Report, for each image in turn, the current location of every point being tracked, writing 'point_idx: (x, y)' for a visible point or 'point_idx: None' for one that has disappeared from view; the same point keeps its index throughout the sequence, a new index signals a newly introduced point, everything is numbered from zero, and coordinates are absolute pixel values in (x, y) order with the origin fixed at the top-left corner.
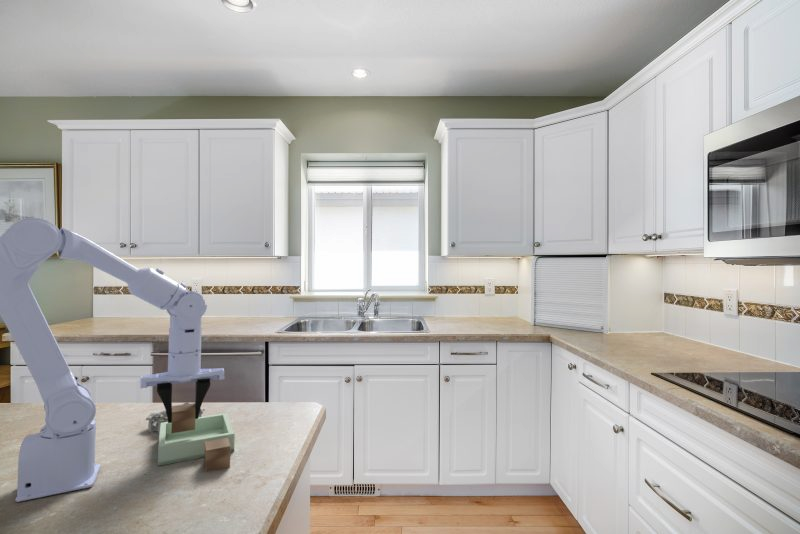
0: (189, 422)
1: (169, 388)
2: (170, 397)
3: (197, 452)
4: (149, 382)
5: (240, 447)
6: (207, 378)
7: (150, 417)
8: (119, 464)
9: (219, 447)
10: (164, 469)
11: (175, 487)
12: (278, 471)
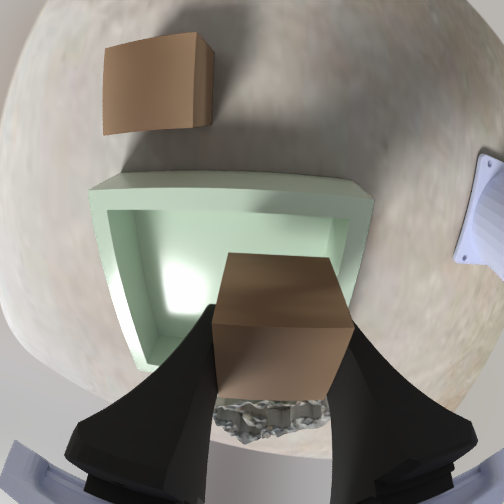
0: (251, 275)
1: (402, 477)
2: (389, 414)
3: (228, 174)
4: (474, 487)
5: None
6: (107, 501)
7: (324, 417)
8: (422, 250)
9: (142, 45)
10: (335, 143)
11: (308, 8)
12: (53, 17)
